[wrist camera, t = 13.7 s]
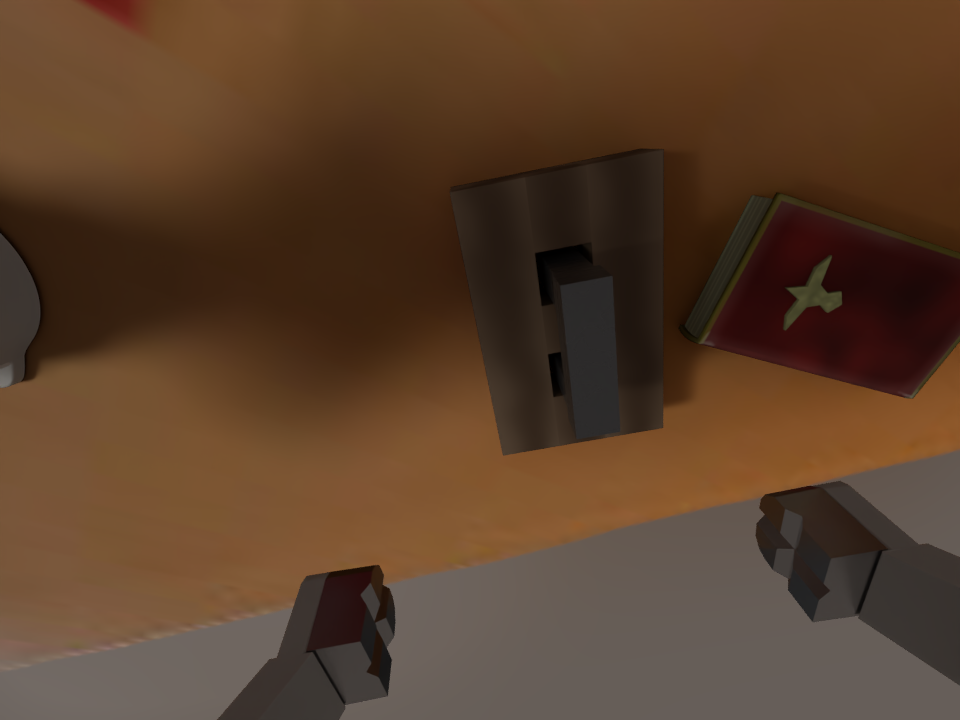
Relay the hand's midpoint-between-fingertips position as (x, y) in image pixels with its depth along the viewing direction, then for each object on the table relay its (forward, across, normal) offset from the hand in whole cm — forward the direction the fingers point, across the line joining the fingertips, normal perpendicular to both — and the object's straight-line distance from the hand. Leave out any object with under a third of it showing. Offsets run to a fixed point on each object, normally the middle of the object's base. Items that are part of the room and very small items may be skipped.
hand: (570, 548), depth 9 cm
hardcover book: (+28, -28, +9) cm, 40 cm away
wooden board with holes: (+28, -6, +6) cm, 29 cm away
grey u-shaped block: (+28, -6, +6) cm, 29 cm away
